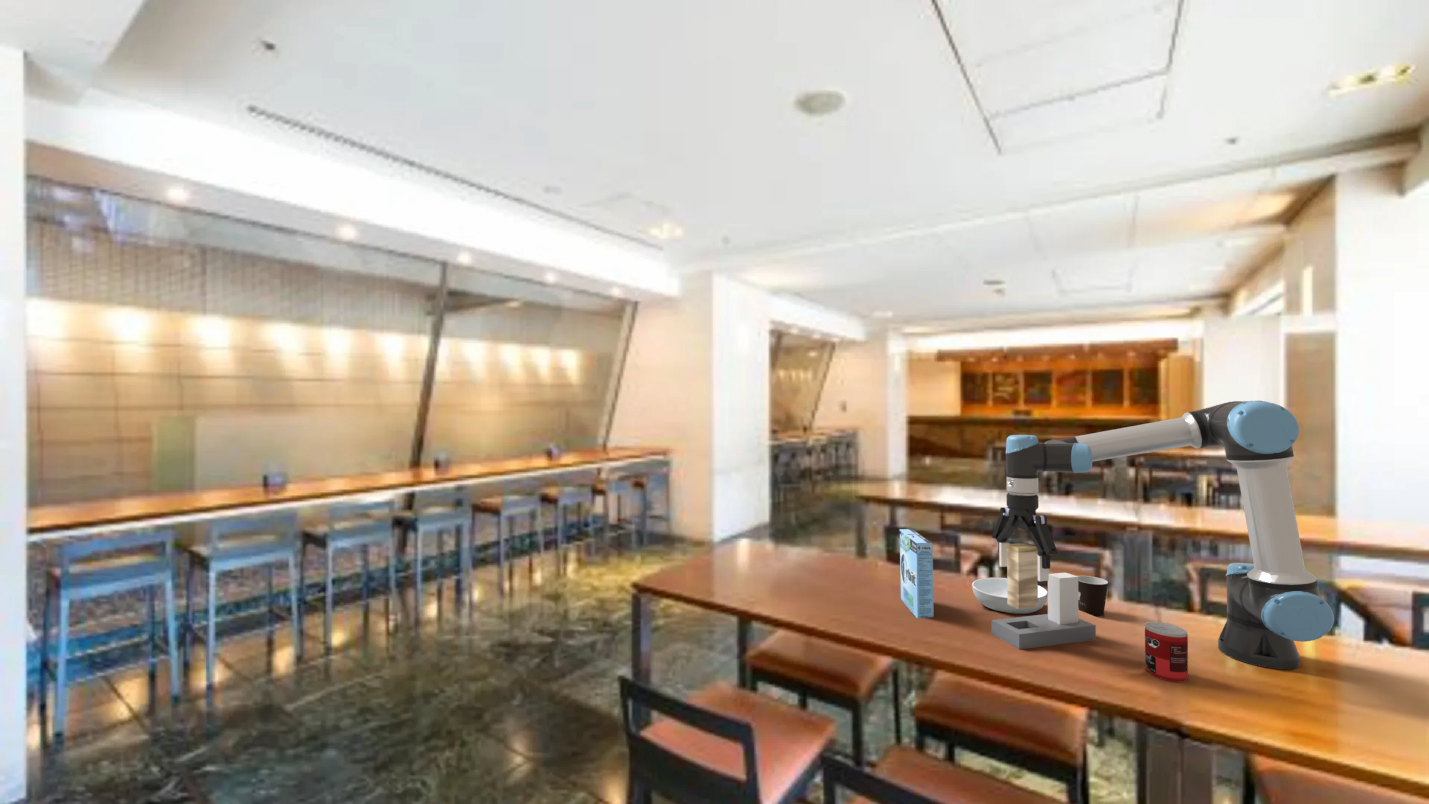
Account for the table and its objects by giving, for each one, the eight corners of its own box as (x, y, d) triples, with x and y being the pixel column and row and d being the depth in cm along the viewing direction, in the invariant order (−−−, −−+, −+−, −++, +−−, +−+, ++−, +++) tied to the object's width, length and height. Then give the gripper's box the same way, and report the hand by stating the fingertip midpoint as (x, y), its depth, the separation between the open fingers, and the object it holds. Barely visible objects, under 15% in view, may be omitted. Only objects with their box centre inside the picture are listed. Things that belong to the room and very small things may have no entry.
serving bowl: (976, 594, 195) (976, 573, 195) (1048, 605, 184) (1048, 583, 184) (967, 613, 177) (967, 590, 177) (1046, 627, 166) (1046, 602, 166)
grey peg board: (1095, 644, 154) (1095, 625, 154) (1019, 653, 149) (1019, 634, 149) (1064, 629, 164) (1064, 612, 164) (991, 638, 158) (991, 620, 158)
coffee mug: (1107, 620, 171) (1107, 586, 171) (1073, 613, 176) (1072, 580, 176) (1109, 609, 181) (1109, 576, 181) (1077, 603, 186) (1077, 571, 186)
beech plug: (1038, 607, 153) (1038, 546, 153) (1018, 609, 152) (1018, 548, 152) (1026, 602, 158) (1026, 542, 158) (1006, 604, 156) (1006, 544, 156)
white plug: (1078, 636, 157) (1078, 576, 157) (1059, 638, 155) (1059, 578, 155) (1066, 630, 160) (1065, 572, 161) (1047, 632, 159) (1047, 574, 159)
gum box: (933, 621, 171) (933, 543, 171) (916, 620, 171) (916, 543, 171) (915, 598, 190) (914, 528, 190) (899, 598, 191) (899, 528, 191)
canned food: (1146, 664, 143) (1145, 619, 143) (1188, 673, 137) (1187, 627, 138) (1143, 675, 137) (1143, 628, 137) (1187, 686, 132) (1187, 637, 132)
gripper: (978, 487, 166) (979, 561, 166) (1047, 501, 142) (1048, 588, 142) (1000, 486, 168) (1001, 560, 168) (1073, 499, 144) (1074, 586, 143)
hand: (1023, 573), depth 155 cm, fingers open, 13 cm apart
